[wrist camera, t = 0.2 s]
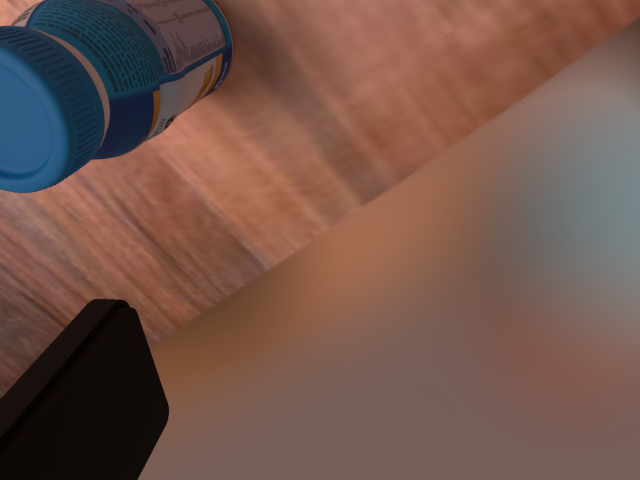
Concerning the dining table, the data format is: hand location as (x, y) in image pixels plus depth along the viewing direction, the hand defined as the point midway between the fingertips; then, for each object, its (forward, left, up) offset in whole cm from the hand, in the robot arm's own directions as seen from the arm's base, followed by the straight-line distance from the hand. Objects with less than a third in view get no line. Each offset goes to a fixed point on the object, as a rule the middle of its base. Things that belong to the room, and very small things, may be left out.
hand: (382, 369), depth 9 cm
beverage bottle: (-2, -17, -31) cm, 35 cm away
